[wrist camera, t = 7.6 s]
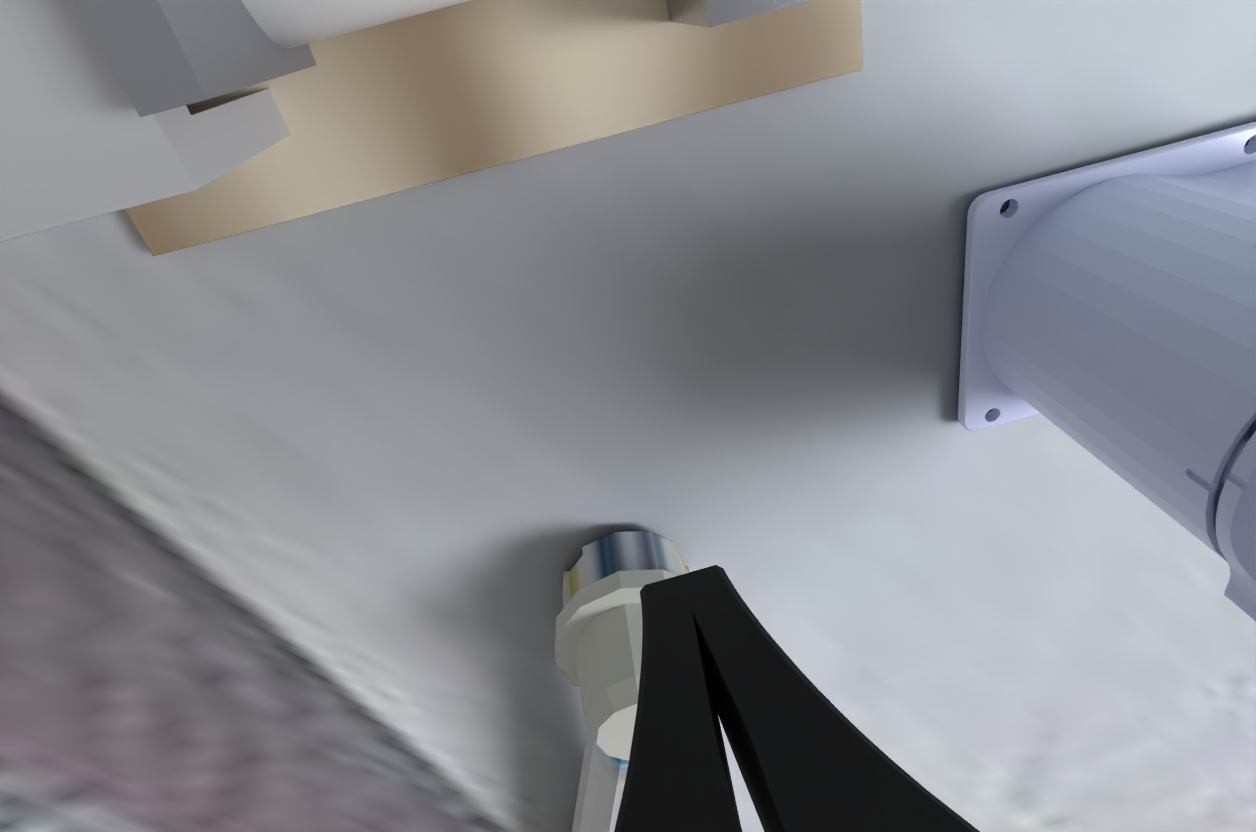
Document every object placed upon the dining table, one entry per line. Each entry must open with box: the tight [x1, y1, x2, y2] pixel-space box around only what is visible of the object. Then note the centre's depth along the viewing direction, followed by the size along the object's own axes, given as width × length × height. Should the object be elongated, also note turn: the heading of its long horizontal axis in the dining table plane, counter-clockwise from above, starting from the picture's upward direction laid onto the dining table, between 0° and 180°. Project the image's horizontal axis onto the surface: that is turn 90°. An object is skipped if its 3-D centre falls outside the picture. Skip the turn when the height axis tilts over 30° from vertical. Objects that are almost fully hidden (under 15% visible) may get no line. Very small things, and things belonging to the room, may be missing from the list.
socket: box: [0, 0, 291, 242], centre depth 12 cm, size 4×6×6 cm
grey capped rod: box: [555, 531, 689, 832], centre depth 28 cm, size 5×7×25 cm
